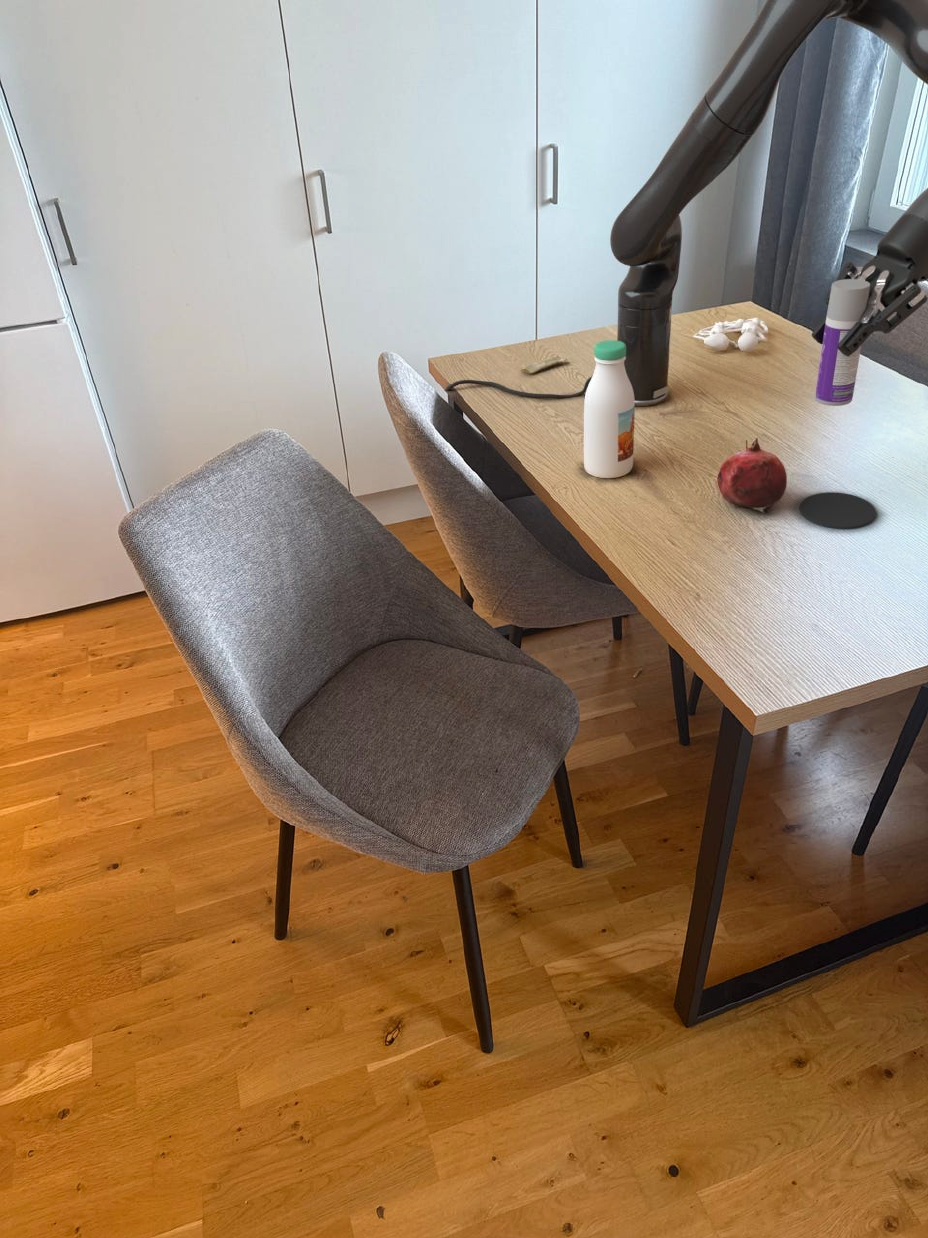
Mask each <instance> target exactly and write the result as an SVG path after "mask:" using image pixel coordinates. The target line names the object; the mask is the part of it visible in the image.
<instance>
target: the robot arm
mask: <svg viewBox="0 0 928 1238" xmlns="http://www.w3.org/2000/svg"><path fill="white" fill-rule="evenodd" d="M824 19H825V20H826V19H827V20H832V19H841V20H843V21H846V22H849V23H851V24H854V25H856V26H859V27H860V28H863V29H865V30H867V31H868V32H870V33H872V34H874V36H877V37H878V38H879V39H881V40H882V41H883V42H884V43H885V44H887V46H889V47H890V49H892V50H893V52H894V53H895V55H897V57H898V58H899V59H900V61H901V62H903V64H904V65H905V66H906V67H907V69H909V71H910V72H912V73H913V74H914V75H915V76H916V77H917V78H918V79H920V80H921V81H922V82H923V83H925V84H926V85H927V86H928V0H766V1H765V2H764V4H763V7H762V8H761V10H760V12H759V14H758V15H757V17H756V19H755V20H754V22H753V23H752V25H751V27H750V29H749V30H748V32H747V33H746V34H745V36H744V37H743V39H742V40H741V42H740V43H739V44H738V46H737V47H736V49H735V50H734V51H733V53H732V54H731V56H730V57H729V59H728V61H727V62H726V64H725V65H724V67H723V68H722V70H721V71H720V72H719V74H717V76H716V78H715V80H714V81H713V82H712V83H711V84H710V86H709V87H708V89H707V90H706V92H705V93H704V95H703V96H702V98H701V99H700V101H699V102H698V103H697V105H696V107H695V108H694V109H693V110H692V112H691V114H690V116H689V117H688V118H687V120H686V122H685V124H684V125H683V126H682V128H681V130H680V131H679V133H678V134H677V136H676V137H675V139H674V140H673V142H672V143H671V145H670V146H669V148H668V149H667V151H666V152H665V154H664V155H663V157H662V159H661V160H660V162H659V164H658V165H657V167H656V168H655V170H654V171H653V173H652V174H651V176H650V177H649V178H648V180H646V181H645V183H644V184H643V185H642V187H641V188H640V189H639V191H638V192H637V193H636V194H635V195H634V196H633V197H632V199H631V200H630V201H629V202H628V203H627V205H626V206H625V207H624V208H623V209H622V210H621V211H620V212H619V213H618V215H617V217H616V218H615V220H614V222H613V224H612V228H611V230H610V236H609V240H610V241H609V242H610V243H609V244H610V245H609V246H610V249H611V253H612V255H613V257H614V258H615V259H616V261H618V262H619V263H620V264H622V265H624V266H627V267H629V268H628V272H627V273H626V275H625V277H624V279H623V280H622V282H621V283H620V285H619V287H618V291H617V333H616V334H617V335H616V337H617V338H616V341H621V342H623V343H625V345H626V355H625V357H626V359H625V360H624V366H625V370H626V374H627V376H628V378H629V381H630V383H631V385H632V388H633V392H634V400H635V407H648V406H654V405H658V404H660V403H663V402H665V401H666V400H667V398H668V397H669V395H668V393H669V389H670V385H669V370H670V369H669V366H670V349H671V331H672V312H673V311H672V308H673V295H674V290H675V288H676V286H677V283H678V278H679V274H680V273H679V272H680V263H681V252H682V241H683V225H682V219H681V216H680V214H681V213H682V212H683V210H684V209H685V208H686V207H687V206H688V204H689V203H690V202H691V201H692V200H693V199H694V198H695V197H696V196H697V195H699V194H700V193H701V192H702V191H703V190H704V189H705V188H706V187H708V186H709V185H710V184H711V183H712V182H713V181H714V180H715V179H717V177H718V176H719V175H720V174H722V173H723V172H724V171H725V170H726V169H727V168H728V167H729V166H730V165H731V164H732V163H733V161H735V159H736V158H737V157H738V156H739V155H740V153H741V152H742V151H743V149H744V148H745V147H746V146H747V144H749V142H750V141H751V139H752V138H753V136H754V135H755V134H756V133H757V132H758V130H759V128H760V127H761V126H762V124H763V123H764V121H765V119H766V117H767V115H768V112H769V111H770V109H771V107H772V104H773V101H774V99H775V95H776V92H777V89H778V86H779V84H780V81H781V78H782V76H783V73H784V71H785V69H786V68H787V66H788V64H789V63H790V61H791V60H792V59H793V56H794V55H795V53H796V52H797V51H798V50H799V49H800V47H801V46H802V45H803V43H804V42H805V41H806V40H807V38H808V37H809V36H810V34H811V33H813V32H814V30H815V29H816V28H817V27H818V26H819V25H820V24H821V22H822V21H823V20H824ZM844 279H858V280H864V281H867V282H869V283H870V290H869V298H868V301H867V309H866V311H865V313H864V314H863V316H862V318H861V323H858V322H857V323H856V324H855V325H854V326H853V327H852V329H851V330H850V331H849V332H848V333H847V334H846V335H845V337H844V338H843V339H842V340H841V341H840V342H839V344H838V346H837V348H838V349H839V351H840V352H841V353H842V354H843V355H845V356H850V355H851V354H852V353H854V352H855V351H857V349H858V348H859V347H860V346H861V347H862V345H863V344H864V343H865V341H867V339H868V338H869V337H870V336H871V335H875V334H877V333H878V332H882V333H883V334H884V335H885V334H890V333H891V332H892V331H894V329H895V328H897V327H898V326H899V325H900V324H902V323H903V322H905V320H906V319H908V318H909V317H910V316H911V315H913V314H914V313H915V312H916V311H917V310H918V309H919V308H921V307H922V306H923V305H924V304H925V303H926V302H927V301H928V295H926V293H925V291H924V290H923V289H922V288H921V287H920V286H919V283H922V282H926V281H927V280H928V187H927V188H926V189H925V190H924V191H922V193H920V194H919V195H918V196H917V197H916V199H914V200H913V202H912V203H911V204H910V205H909V206H908V208H907V209H906V210H905V211H904V213H903V214H902V215H901V216H900V217H899V218H898V220H896V222H895V223H894V224H893V225H892V226H891V228H890V229H889V230H888V231H887V232H886V234H885V235H884V236H883V237H882V238H881V239H880V240H879V242H878V243H877V251H876V254H875V256H874V257H873V258H872V259H870V260H869V261H868V262H866V263H864V265H863V266H855V264H854V263H853V262H852V261H849V262H847V263H845V265H844V266H843V268H842V269H841V271H840V273H839V274H838V276H837V278H836V279H835V281H838V280H844ZM830 293H831V288H830V289H829V290H828V293H827V294H826V295H825V297H824V303H825V304H826V305H827V306H828V305H829V299H830ZM895 313H896V314H895ZM893 314H895V315H894V316H893V317H892V318H891V319H889V318H890V317H891V316H892V315H893ZM826 317H827V313H826V314H825V315H824V317H823V318H822V319H821V320H820V321H819V322H818V323H817V324H816V326H815V327H814V328H813V330H812V332H811V337H812V339H814V340H815V341H816V343H818V344H820V345H822V344H823V337H824V330H825V323H826ZM592 376H593V375H591V376H589V377H588V378H587V380H586V381H585V382H584V386H583V389H581V391H579V392H576V393H574V394H555V393H532V392H525V391H520V390H515V389H511V388H509V387H506V386H505V385H502V384H500V383H498V382H493V381H485V380H484V381H483V380H476V379H462V380H461V379H460V380H458V381H455V382H453V383H451V384H449V385H448V386H447V387H446V388H445V389H444V392H449V391H450V390H452V389H453V388H454V387H456V386H460V385H466V384H467V385H468V384H470V385H480V386H491V387H494V388H498V389H500V390H502V391H504V392H506V393H509V394H511V395H516V396H522V397H528V398H535V399H537V398H538V399H556V400H557V399H558V400H562V399H564V400H565V399H572V398H578V397H581V396H583V395H585V394H586V390H587V387H588V385H589V383H590V381H591V379H592ZM459 384H460V385H459Z"/></svg>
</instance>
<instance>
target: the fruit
mask: <svg viewBox="0 0 928 1238" xmlns="http://www.w3.org/2000/svg"><path fill="white" fill-rule="evenodd" d="M758 440H759V438H758V437H756V438H755V440H754V441H753V442H752V443H751V444H750V445H749V446H748V439H746V440H745V449H744V450H742V451H738V452H735V453H733V454H731V455H730V456H729V457H727V458H726V459H725V461H724V462H723V463H722V464H721V466H720V468H719V470H718V473H717V478H716V482H717V487H718V490H719V492H720V494H721V496H722V497H723V499H724V500H725V501H727V503H729V504H733V505H736V506H740V507H744V508H748V509H753V510H756V511H759V512H760V513H764V514H765V513H766V509H767V508H768V507H770V506H773V505H775V504H777V503H778V502H779V501H780V500H781V499H782V498H783V497H784V494H785V492H786V489H787V487H788V478H787V477H788V476H787V471H786V468H785V466H784V463H783V462H782V461H781V460H780V459H779V457H778V456H777V455H776V454H775V453H773V452H770V451H766V450H763V449H762V448H761V446H760V444H759V441H758Z"/></svg>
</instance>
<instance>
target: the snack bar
mask: <svg viewBox="0 0 928 1238" xmlns="http://www.w3.org/2000/svg"><path fill="white" fill-rule="evenodd" d="M567 361H568V358H564V357H562V358H561V357H559V355H556V356H552V357H548V358H546V359H543V360H540V361H536V362H534V363H531V364H528V365H525V366H522V367H521V369H523V370H524V371H525V372H526V374H535V373H537V372H540V371H543V370H545V369H548V368H551V367H553V366H555V365H559V364H562V363H566V362H567Z"/></svg>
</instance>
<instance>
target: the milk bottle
mask: <svg viewBox="0 0 928 1238" xmlns="http://www.w3.org/2000/svg"><path fill="white" fill-rule="evenodd" d="M593 351H594V352H593V353H594V359H593V360H594V361H595V367H594V371H593V374H592V375H591V376H592V379H591V381H590V383H589V385H588V387H587V390H586V392H585V393H584V395H585V396H584V403H583V468H584V470H585V472H586V473H587V474H589V475H591V476H593V477H596V478H601V479H615V478H621V477H623V476H626V475H627V474H629V473H630V472H631V471H632V469H633V467H634V451H635V450H634V448H635V414H636V411H635V407H636V406H635V400H634V392H633V388H632V385H631V383H630V381H629V378H628V376H627V374H626V370H625V366H624V360H625V359H626V357H625V355H626V345H625V343H623V342H621V341H617V339H615V340H613V339H611V340H610V339H608V340H603V341H599V342H597V343H595V345H594V349H593Z"/></svg>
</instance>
